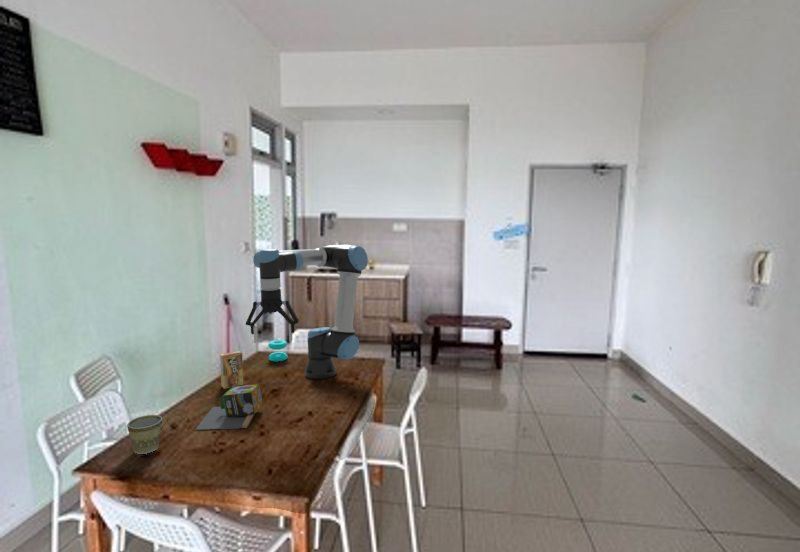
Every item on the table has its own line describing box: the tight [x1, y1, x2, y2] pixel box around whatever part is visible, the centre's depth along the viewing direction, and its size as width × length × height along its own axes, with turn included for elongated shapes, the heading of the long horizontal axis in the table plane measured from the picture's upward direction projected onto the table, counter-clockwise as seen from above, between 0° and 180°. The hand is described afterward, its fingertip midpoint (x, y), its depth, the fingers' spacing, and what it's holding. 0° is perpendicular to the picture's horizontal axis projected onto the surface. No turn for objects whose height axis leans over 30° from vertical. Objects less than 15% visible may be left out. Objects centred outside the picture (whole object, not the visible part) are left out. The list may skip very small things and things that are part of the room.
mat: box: [195, 406, 255, 431], centre depth 173 cm, size 18×20×2 cm
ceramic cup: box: [126, 414, 170, 455], centre depth 149 cm, size 13×10×10 cm
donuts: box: [267, 339, 289, 363], centre depth 246 cm, size 10×10×10 cm
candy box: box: [219, 350, 244, 390], centre depth 206 cm, size 9×4×15 cm, turn 129°
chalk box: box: [219, 383, 264, 417], centre depth 176 cm, size 9×9×15 cm
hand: (273, 341), depth 179 cm, fingers open, 13 cm apart
